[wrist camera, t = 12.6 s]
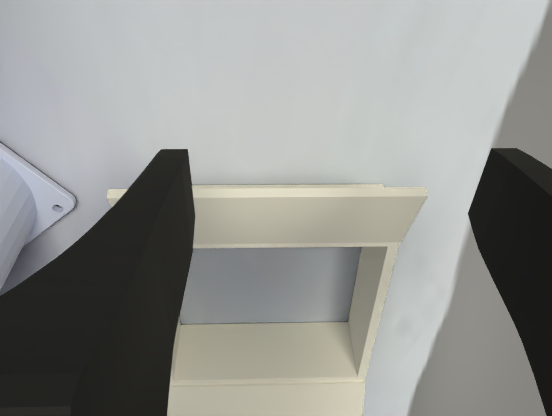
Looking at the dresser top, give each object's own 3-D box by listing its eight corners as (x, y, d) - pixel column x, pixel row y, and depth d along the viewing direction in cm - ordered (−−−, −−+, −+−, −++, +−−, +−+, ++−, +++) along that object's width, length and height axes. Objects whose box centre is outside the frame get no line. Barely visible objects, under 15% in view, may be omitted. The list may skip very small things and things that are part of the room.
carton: (348, 358, 36) (360, 435, 31) (180, 361, 35) (170, 440, 31) (396, 118, 23) (428, 193, 19) (133, 118, 22) (105, 195, 18)
